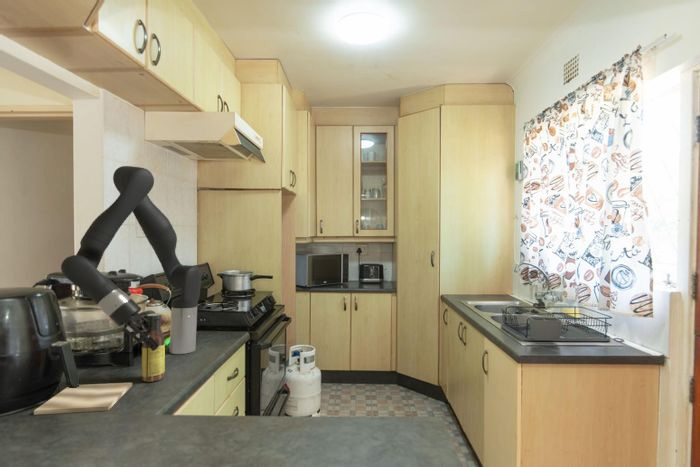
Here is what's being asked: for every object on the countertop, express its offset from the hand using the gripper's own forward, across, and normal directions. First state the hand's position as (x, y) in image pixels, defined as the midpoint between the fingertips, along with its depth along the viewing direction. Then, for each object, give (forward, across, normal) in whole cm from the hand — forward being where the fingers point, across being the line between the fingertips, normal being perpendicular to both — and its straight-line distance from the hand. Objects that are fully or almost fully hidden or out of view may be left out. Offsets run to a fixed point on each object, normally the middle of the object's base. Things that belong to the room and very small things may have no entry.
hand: (160, 345), depth 113 cm
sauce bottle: (+6, 0, +9) cm, 11 cm away
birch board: (-2, -13, +17) cm, 22 cm away
